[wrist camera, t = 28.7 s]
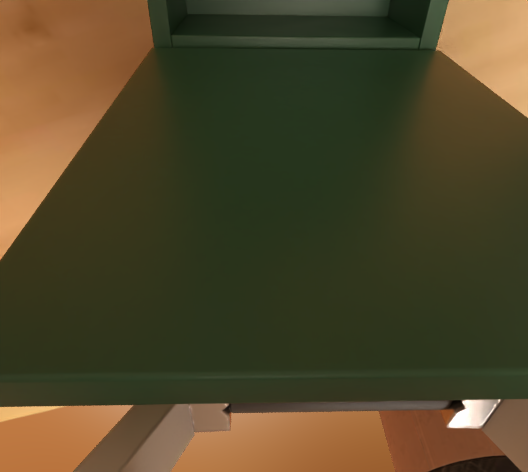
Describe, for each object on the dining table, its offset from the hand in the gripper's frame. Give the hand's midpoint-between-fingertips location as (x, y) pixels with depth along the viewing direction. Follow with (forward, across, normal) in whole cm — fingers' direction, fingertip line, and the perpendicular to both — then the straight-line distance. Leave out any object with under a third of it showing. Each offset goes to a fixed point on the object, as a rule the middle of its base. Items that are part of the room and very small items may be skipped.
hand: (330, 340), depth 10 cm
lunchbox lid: (+5, 0, -4) cm, 6 cm away
